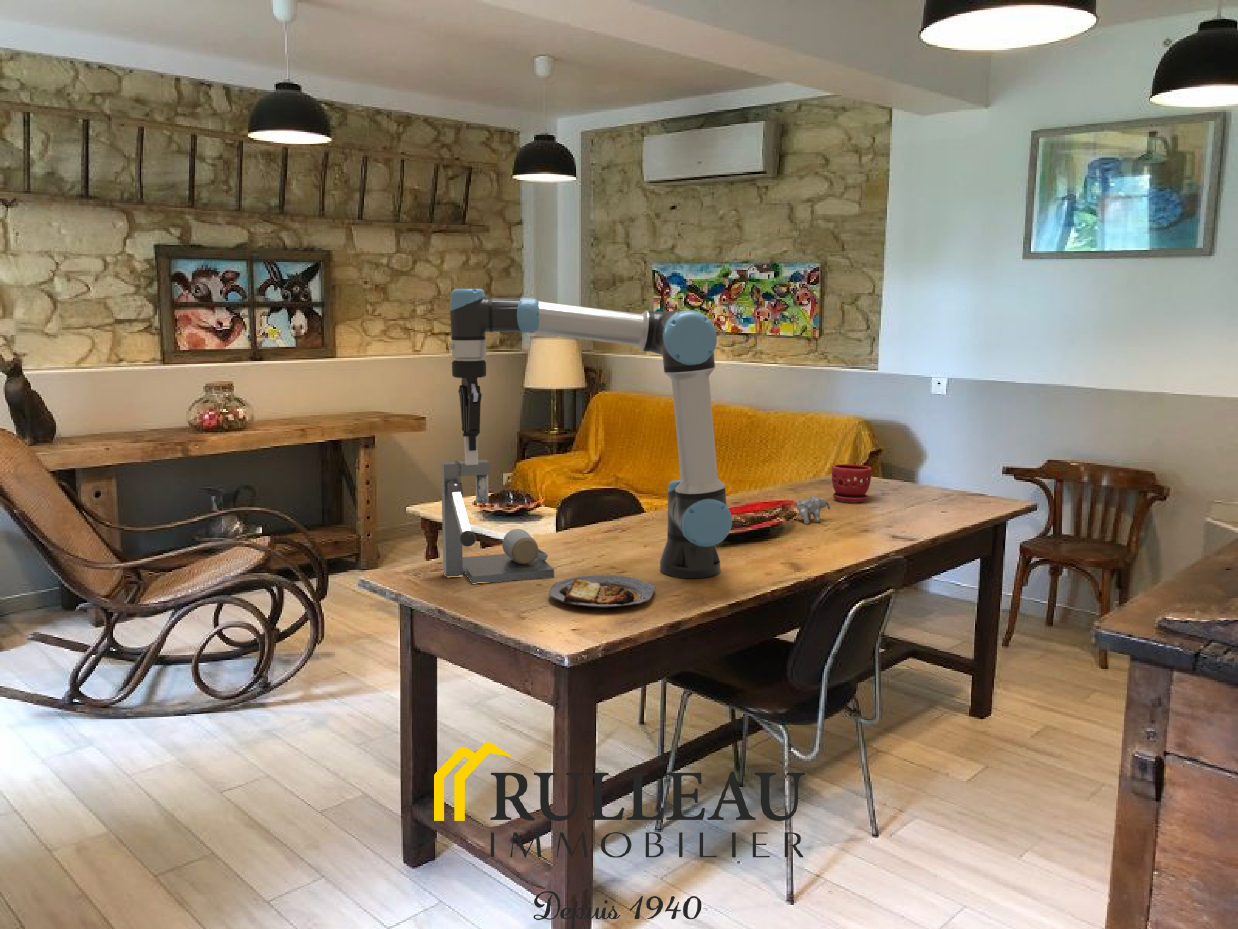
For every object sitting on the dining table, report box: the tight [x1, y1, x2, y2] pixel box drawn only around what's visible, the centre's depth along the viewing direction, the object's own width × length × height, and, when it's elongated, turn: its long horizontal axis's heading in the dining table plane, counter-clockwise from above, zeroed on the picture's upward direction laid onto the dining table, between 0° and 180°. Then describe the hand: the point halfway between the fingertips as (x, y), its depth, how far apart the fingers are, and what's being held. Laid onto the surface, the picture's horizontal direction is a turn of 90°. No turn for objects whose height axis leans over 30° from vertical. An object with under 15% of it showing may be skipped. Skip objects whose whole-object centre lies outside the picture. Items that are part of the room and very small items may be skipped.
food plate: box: [548, 574, 657, 609], centre depth 220 cm, size 25×23×4 cm
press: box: [440, 459, 555, 584], centre depth 238 cm, size 18×25×28 cm
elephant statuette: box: [795, 494, 831, 525], centre depth 299 cm, size 9×12×8 cm
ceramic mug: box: [501, 528, 549, 564], centre depth 242 cm, size 11×8×8 cm
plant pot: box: [831, 463, 873, 504], centre depth 330 cm, size 13×13×12 cm
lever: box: [447, 481, 477, 548], centre depth 223 cm, size 21×4×4 cm, turn 21°
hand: (471, 464), depth 218 cm, fingers closed
